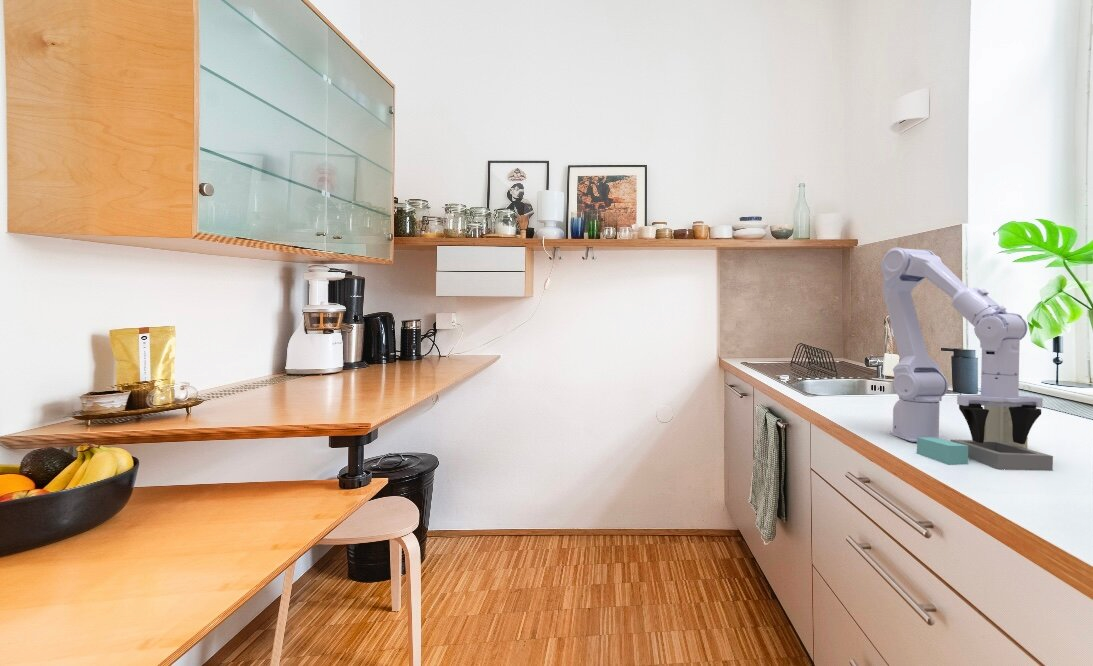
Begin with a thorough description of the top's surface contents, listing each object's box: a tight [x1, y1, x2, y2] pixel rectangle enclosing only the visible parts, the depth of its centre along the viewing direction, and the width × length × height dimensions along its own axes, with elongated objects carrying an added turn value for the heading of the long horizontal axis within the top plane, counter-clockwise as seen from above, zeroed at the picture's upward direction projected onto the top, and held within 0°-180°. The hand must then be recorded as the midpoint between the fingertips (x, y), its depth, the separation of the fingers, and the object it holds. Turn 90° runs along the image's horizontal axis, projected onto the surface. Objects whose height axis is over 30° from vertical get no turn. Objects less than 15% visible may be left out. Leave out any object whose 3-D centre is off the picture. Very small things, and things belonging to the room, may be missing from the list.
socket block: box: [949, 439, 1054, 472], centre depth 107 cm, size 14×10×3 cm
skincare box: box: [983, 401, 1029, 449], centre depth 116 cm, size 6×4×12 cm
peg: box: [916, 437, 969, 466], centre depth 108 cm, size 8×4×4 cm, turn 5°
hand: (998, 442), depth 107 cm, fingers open, 7 cm apart
